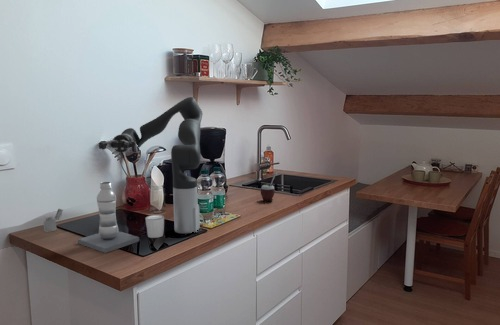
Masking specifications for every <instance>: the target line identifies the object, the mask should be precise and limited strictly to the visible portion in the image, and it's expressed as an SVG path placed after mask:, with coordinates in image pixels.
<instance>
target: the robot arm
mask: <svg viewBox="0 0 500 325" xmlns="http://www.w3.org/2000/svg"><path fill="white" fill-rule="evenodd" d="M178 113H179V114H180V115H181V117H182V118H183V120H182V121H181V122H180V123H179V126H178V131H177V132H178V133H177V137H178V140H179V141H180V143H181V144H175V145H173V146H172V148H171V151H170V155H171V156H170V157H171V158H170V159H171V168H172V169H171V170H172V194H173V196H172V197H173V201H172V202H173V221H174V225H173V227H174V228H173V229H174V232H175V233H177V234H191V233H192V232H194V233H195V232H196V233H197V232H198V231H199V230H200V226H201V225H200V223H201V222H200V219H201V218H200V204H198V202H199V200H198V199H199V198H198V180H197V178H195V177H193V176H190V175H187V174H185V173H183V171H182V170H196V169H198V168H199V167H200V166H201V165H200V164H201V145H200V142H201V141H200V140H201V122H202V118H203V111H202V108H201V107H200V106H199V104H198V102H197V100H196V99H195V98H194V97H192V96H188V97H186V98H184V99H182V100H181V101H179V102H178V103H176V104H174V105H173V106H172V107H169V109H167V110H165V111H164V112H163V113H162V114H160V115H158V116H156V118H153V119H152V120H149V121H148V122H146V123H145V124H142V125H140V127H139V131H140V132H139V133H140V137H139V135H138V132H137V131H136V130H135V129H134V128H132V127H129V128H126V129H124V130H123V131H121V134H118V135H115V136H114V138H112V140H107V141H105V140H104V141H100V142H99V141H98V149H100V150H114V151H115V152H117V153H125V152H127V151H130V150H129V149H131V148H133V149H134V148H135V147H136V144H137V145H138V147H139V148H140V147H142V146H143V144H145V143H146V142H147V141H148V140H150V139H151V138H154V137H156V136H158V135H160V134H161V133H162V132H164V130H166V127H167V126H168V124H169V122H170V121H171V119H172V118H173V117H174V116H175V115H176V114H178ZM197 230H198V231H197Z"/></svg>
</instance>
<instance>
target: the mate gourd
mask: <svg viewBox="0 0 500 325" xmlns="http://www.w3.org/2000/svg"><path fill="white" fill-rule="evenodd" d="M279 173H280V171H278V172H276V173H274V175H273V176H272V179H271V182H270V184H263V185H262V186H261V187H260V195H261V197H262V203H263V202H264V203H265V201H266V202H268V201H269V203H272V202H273V197H274V196H275V192H276V191H275V186H274V185H273V183H274V182H273V181H274V179H275V178H276V176H277V175H278V174H279Z"/></svg>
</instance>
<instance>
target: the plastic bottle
mask: <svg viewBox="0 0 500 325" xmlns="http://www.w3.org/2000/svg"><path fill="white" fill-rule="evenodd" d="M99 185H100V186H99V188H100V190H99V192H98V194H97V196H96V202H97V207H98V212H99V213H98V215H99V226H98V233H99V235H100V237H101V238H103V239H111V238H115V237H117V235H118V231H119V226H118V223H117V222H118V221H117V216H116V215H117V214H116V210H117V209H116V208H117V206H116V205H117V204H116V203H117V196H116V193H115V192H114V190H112V188H113V187H112V182H111V181H104V182H103V181H101V182H100V183H99Z"/></svg>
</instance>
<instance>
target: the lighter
mask: <svg viewBox="0 0 500 325" xmlns="http://www.w3.org/2000/svg"><path fill="white" fill-rule="evenodd" d="M63 211H64V210H63V209H62V208H58V209H57V211H56V213H55V216H54V218H53V217H52V216H47V217H46V218H45V219H44V220H43V221H42V224H43V232H44V233H49V232H53V231H57V221H60V218H61V216H62V214H63Z"/></svg>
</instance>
